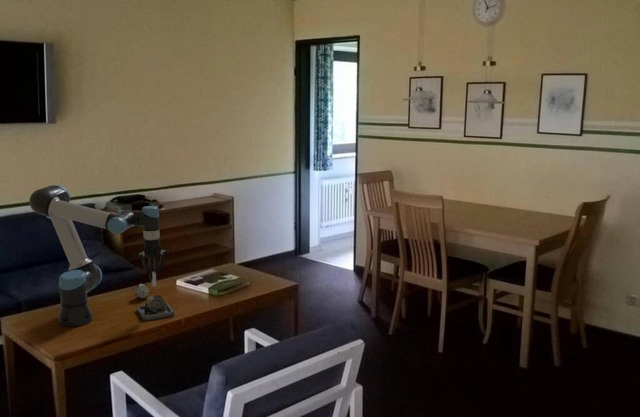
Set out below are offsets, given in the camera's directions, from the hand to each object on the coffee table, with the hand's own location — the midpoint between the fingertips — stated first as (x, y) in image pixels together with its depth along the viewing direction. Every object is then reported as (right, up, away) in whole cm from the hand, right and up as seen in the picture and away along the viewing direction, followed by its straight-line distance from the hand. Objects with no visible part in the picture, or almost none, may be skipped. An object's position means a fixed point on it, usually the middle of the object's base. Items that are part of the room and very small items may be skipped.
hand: (154, 285), depth 295 cm
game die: (-13, -10, +24) cm, 29 cm away
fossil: (0, -14, +2) cm, 14 cm away
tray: (0, -14, +3) cm, 14 cm away
